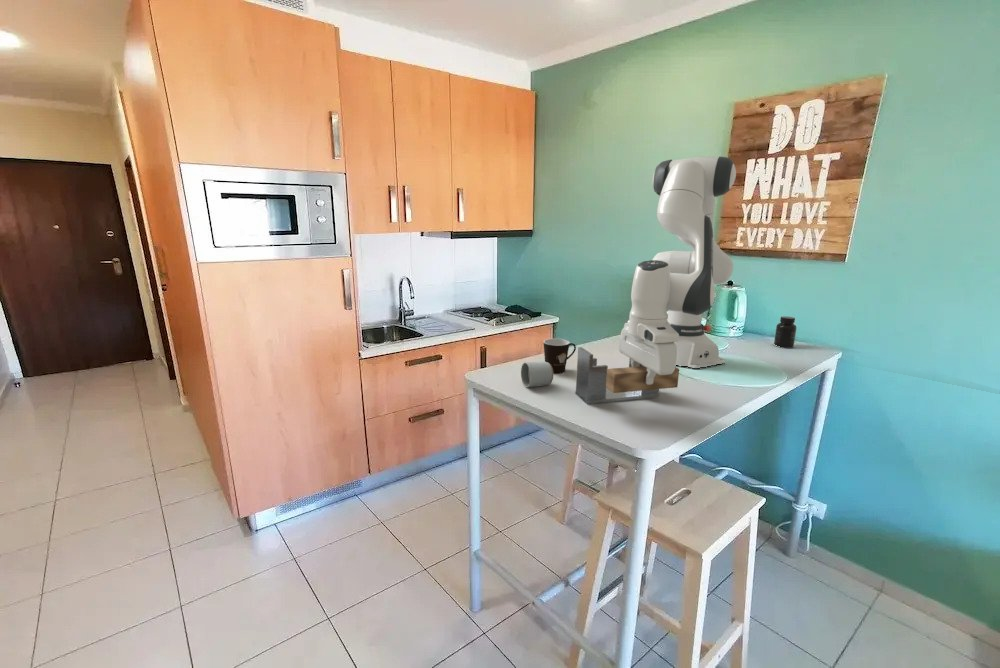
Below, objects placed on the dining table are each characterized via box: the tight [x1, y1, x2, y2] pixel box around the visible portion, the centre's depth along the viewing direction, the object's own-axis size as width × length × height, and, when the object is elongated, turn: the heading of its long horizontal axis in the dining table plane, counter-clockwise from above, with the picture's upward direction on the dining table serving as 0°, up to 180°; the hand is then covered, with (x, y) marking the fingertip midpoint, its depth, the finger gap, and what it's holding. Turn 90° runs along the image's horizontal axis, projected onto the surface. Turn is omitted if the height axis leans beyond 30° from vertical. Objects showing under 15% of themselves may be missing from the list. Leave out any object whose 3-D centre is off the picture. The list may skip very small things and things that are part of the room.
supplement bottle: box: [773, 316, 797, 348], centre depth 174 cm, size 7×7×12 cm
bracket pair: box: [574, 346, 660, 405], centre depth 122 cm, size 22×8×14 cm, turn 104°
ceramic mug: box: [520, 361, 554, 388], centre depth 132 cm, size 11×8×8 cm
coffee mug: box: [542, 338, 577, 375], centre depth 143 cm, size 12×9×10 cm
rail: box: [606, 366, 680, 393], centre depth 110 cm, size 18×4×5 cm, turn 103°
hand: (642, 379), depth 110 cm, fingers closed on rail, 4 cm apart
